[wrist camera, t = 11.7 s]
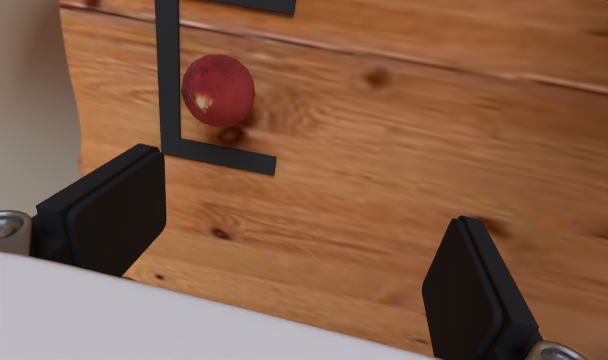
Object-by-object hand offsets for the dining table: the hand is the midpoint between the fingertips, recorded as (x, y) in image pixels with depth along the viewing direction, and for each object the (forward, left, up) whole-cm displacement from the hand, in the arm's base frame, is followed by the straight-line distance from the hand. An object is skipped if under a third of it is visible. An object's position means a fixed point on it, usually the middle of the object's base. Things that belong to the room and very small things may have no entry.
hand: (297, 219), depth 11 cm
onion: (+1, -9, -22) cm, 24 cm away
